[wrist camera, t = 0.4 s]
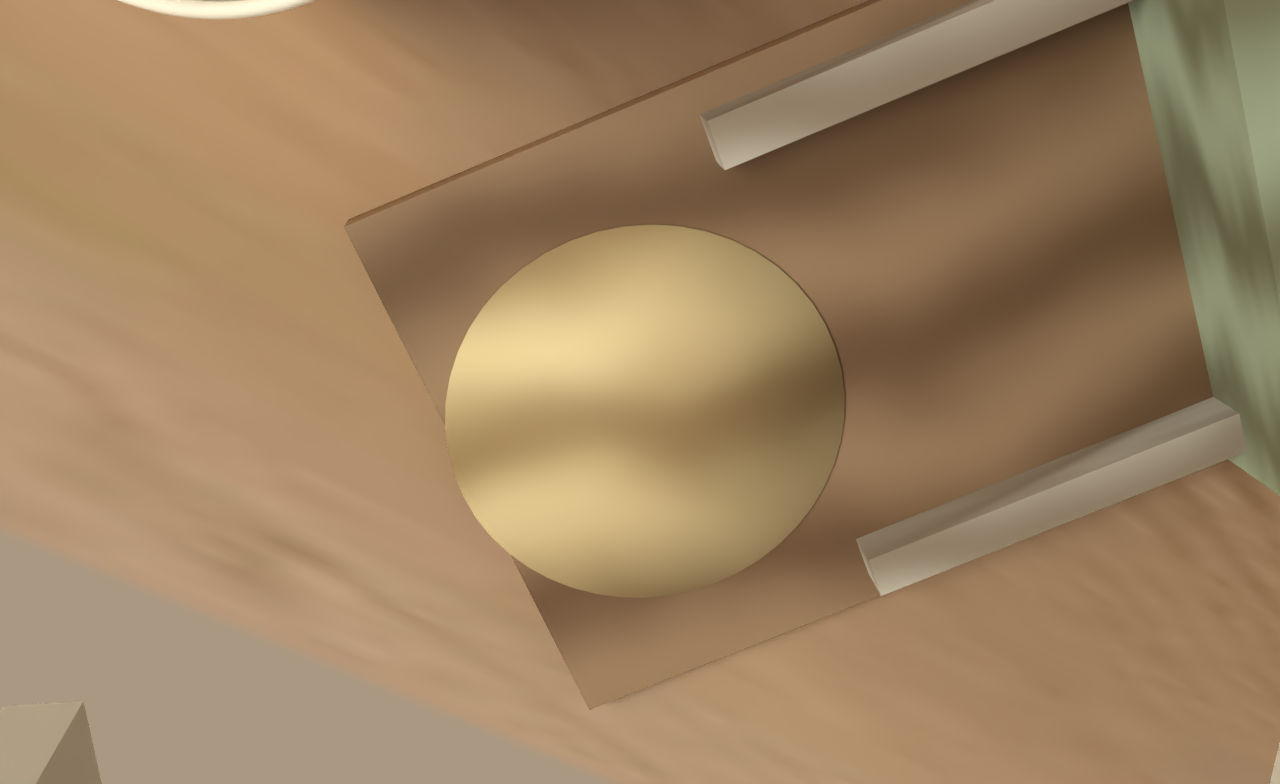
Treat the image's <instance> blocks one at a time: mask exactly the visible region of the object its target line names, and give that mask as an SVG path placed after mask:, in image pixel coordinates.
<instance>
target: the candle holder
mask: <svg viewBox="0 0 1280 784" xmlns="http://www.w3.org/2000/svg"><path fill="white" fill-rule="evenodd" d="M118 1H120V2H123V3H126V4H129V5H132V6H135V7H138V8H142V9H145V10H149V11H153V12H157V13H161V14H166V15H171V16H177V17H184V18H192V19H205V20H235V19H247V18H256V17H262V16H268V15H273V14H277V13H281V12H285V11H289V10H292V9H295V8H299V7H302V6H304V5H307V4H310V3H312V2H315V1H317V0H118Z"/></svg>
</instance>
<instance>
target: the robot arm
mask: <svg viewBox="0 0 1280 784" xmlns="http://www.w3.org/2000/svg"><path fill="white" fill-rule="evenodd" d="M0 784H102V783H101V779H100V774H99V770H98V765H97V761H96V756H95V751H94V747H93V743H92V738H91V733H90V729H89V724H88V720H87V715H86V711H85V706H84V702H83V701H76V702H61V703H46V704H45V703H44V704H29V705H13V706H4V707H3V708H2V710H1V711H0ZM1270 784H1280V744H1279V748H1278V752H1277V756H1276V760H1275V764H1274V768H1273V772H1272V777H1271V781H1270Z"/></svg>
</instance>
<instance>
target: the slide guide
mask: <svg viewBox="0 0 1280 784" xmlns="http://www.w3.org/2000/svg"><path fill="white" fill-rule="evenodd" d="M344 228H345V230H346V232H347V234H348V236H349V238H350V240H351V242H352V244H353V246H354V248H355V250H356V252H357V254H358V256H359V258H360V260H361V261H362V263H363V265H364V267H365V269H366V271H367V273H368V275H369V277H370V279H371V281H372V283H373V285H374V287H375V289H376V291H377V293H378V295H379V297H380V299H381V301H382V303H383V305H384V307H385V309H386V311H387V313H388V315H389V317H390V319H391V320H392V322H393V324H394V326H395V328H396V330H397V332H398V334H399V336H400V338H401V340H402V342H403V344H404V346H405V348H406V350H407V352H408V354H409V356H410V358H411V360H412V362H413V364H414V366H415V368H416V370H417V372H418V374H419V376H420V378H421V379H422V381H423V383H424V385H425V387H426V389H427V391H428V393H429V395H430V397H431V399H432V401H433V403H434V405H435V407H436V409H437V411H438V413H439V415H440V417H441V419H442V421H443V423H444V425H445V432H446V440H447V448H448V454H449V458H450V461H451V465H452V469H453V472H454V476H455V478H456V481H457V483H458V485H459V488H460V490H461V492H462V495H463V497H464V499H465V500H466V502H467V504H468V505H469V507H470V509H471V510H472V512H473V514H474V515H475V517H476V518H477V520H478V521H479V522H480V523H481V525H482V526H483V527H484V528H485V530H486V531H487V532H488V533H489V534H490V536H491V537H492V538H493V539H494V540H495V541H496V542H497V543H498V544H500V545H501V546H502V547H503V548H504V549H505V550H506V551H507V552H508V553H509V554H511V556H512V558H513V560H514V562H515V564H516V566H517V568H518V570H519V572H520V574H521V576H522V578H523V580H524V582H525V584H526V586H527V588H528V590H529V592H530V594H531V596H532V598H533V600H534V602H535V604H536V606H537V608H538V610H539V612H540V613H541V615H542V617H543V619H544V621H545V623H546V625H547V627H548V629H549V631H550V633H551V635H552V637H553V639H554V641H555V643H556V645H557V647H558V649H559V651H560V653H561V655H562V657H563V659H564V661H565V663H566V665H567V667H568V669H569V671H570V672H571V674H572V676H573V678H574V680H575V682H576V684H577V686H578V688H579V690H580V692H581V694H582V696H583V698H584V700H585V702H586V704H587V706H588V708H589V710H590V709H593V708H595V707H598V706H600V705H603V704H606V703H608V702H611V701H613V700H616V699H618V698H621V697H623V696H626V695H628V694H631V693H633V692H636V691H638V690H641V689H644V688H646V687H649V686H651V685H654V684H656V683H659V682H661V681H664V680H666V679H669V678H671V677H674V676H676V675H679V674H682V673H684V672H687V671H689V670H692V669H694V668H697V667H699V666H702V665H704V664H707V663H709V662H712V661H715V660H717V659H720V658H722V657H725V656H727V655H730V654H732V653H735V652H737V651H740V650H742V649H745V648H747V647H750V646H753V645H755V644H758V643H760V642H763V641H765V640H768V639H770V638H773V637H775V636H778V635H780V634H783V633H785V632H788V631H791V630H793V629H796V628H798V627H801V626H803V625H806V624H808V623H811V622H813V621H816V620H818V619H821V618H823V617H826V616H829V615H831V614H834V613H836V612H839V611H841V610H844V609H846V608H849V607H851V606H854V605H856V604H859V603H861V602H864V601H867V600H869V599H872V598H874V597H877V596H879V595H881V596H883V595H885V594H888V593H890V592H893V591H895V590H898V589H900V588H903V587H905V586H908V585H911V584H913V583H916V582H918V581H921V580H923V579H926V578H928V577H931V576H933V575H936V574H938V573H941V572H943V571H946V570H949V569H951V568H954V567H956V566H959V565H961V564H964V563H966V562H969V561H971V560H974V559H976V558H979V557H981V556H984V555H987V554H989V553H992V552H994V551H997V550H999V549H1002V548H1004V547H1007V546H1009V545H1012V544H1014V543H1017V542H1020V541H1022V540H1025V539H1027V538H1030V537H1032V536H1035V535H1037V534H1040V533H1042V532H1045V531H1047V530H1050V529H1052V528H1055V527H1058V526H1060V525H1063V524H1065V523H1068V522H1070V521H1073V520H1075V519H1078V518H1080V517H1083V516H1085V515H1088V514H1090V513H1093V512H1096V511H1098V510H1101V509H1103V508H1106V507H1108V506H1111V505H1113V504H1116V503H1118V502H1121V501H1123V500H1126V499H1129V498H1131V497H1134V496H1136V495H1139V494H1141V493H1144V492H1146V491H1149V490H1151V489H1154V488H1156V487H1159V486H1161V485H1164V484H1167V483H1169V482H1172V481H1174V480H1177V479H1179V478H1182V477H1184V476H1187V475H1189V474H1192V473H1194V472H1197V471H1199V470H1202V469H1205V468H1207V467H1210V466H1212V465H1215V464H1217V463H1220V462H1222V461H1225V460H1227V459H1228V460H1230V461H1231V462H1232V463H1234V464H1235V465H1237V466H1238V467H1240V468H1241V469H1242V470H1244V471H1245V472H1247V473H1248V474H1249V475H1251V476H1252V477H1254V478H1255V479H1257V480H1258V481H1259V482H1261V483H1262V484H1264V485H1265V486H1266V487H1268V488H1269V489H1271V490H1272V491H1274V492H1275V493H1276V494H1278V495H1279V496H1280V0H869V1H867V2H864V3H862V4H859V5H857V6H855V7H852V8H850V9H848V10H845V11H843V12H840V13H838V14H836V15H833V16H831V17H829V18H826V19H824V20H822V21H819V22H817V23H814V24H812V25H810V26H807V27H805V28H803V29H800V30H798V31H795V32H793V33H791V34H788V35H786V36H784V37H781V38H779V39H776V40H774V41H772V42H769V43H767V44H765V45H762V46H760V47H757V48H755V49H753V50H750V51H748V52H746V53H743V54H741V55H738V56H736V57H734V58H731V59H729V60H727V61H724V62H722V63H719V64H717V65H715V66H712V67H710V68H708V69H705V70H703V71H700V72H698V73H696V74H693V75H691V76H689V77H686V78H684V79H681V80H679V81H677V82H674V83H672V84H670V85H667V86H665V87H662V88H660V89H658V90H655V91H653V92H651V93H648V94H646V95H643V96H641V97H639V98H636V99H634V100H632V101H629V102H627V103H624V104H622V105H620V106H617V107H615V108H613V109H610V110H608V111H605V112H603V113H601V114H598V115H596V116H594V117H591V118H589V119H586V120H584V121H582V122H579V123H577V124H575V125H572V126H570V127H567V128H565V129H563V130H560V131H558V132H556V133H553V134H551V135H548V136H546V137H544V138H541V139H539V140H537V141H534V142H532V143H529V144H527V145H525V146H522V147H520V148H518V149H515V150H513V151H510V152H508V153H506V154H503V155H501V156H499V157H496V158H494V159H491V160H489V161H487V162H484V163H482V164H480V165H477V166H475V167H472V168H470V169H468V170H465V171H463V172H461V173H458V174H456V175H453V176H451V177H449V178H446V179H444V180H442V181H439V182H437V183H434V184H432V185H430V186H427V187H425V188H423V189H420V190H418V191H415V192H413V193H411V194H408V195H406V196H404V197H401V198H399V199H396V200H394V201H392V202H389V203H387V204H385V205H382V206H380V207H377V208H375V209H373V210H370V211H368V212H366V213H363V214H361V215H358V216H356V217H354V218H351V219H349V220H348V221H347V223H346V224H345V226H344Z"/></svg>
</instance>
